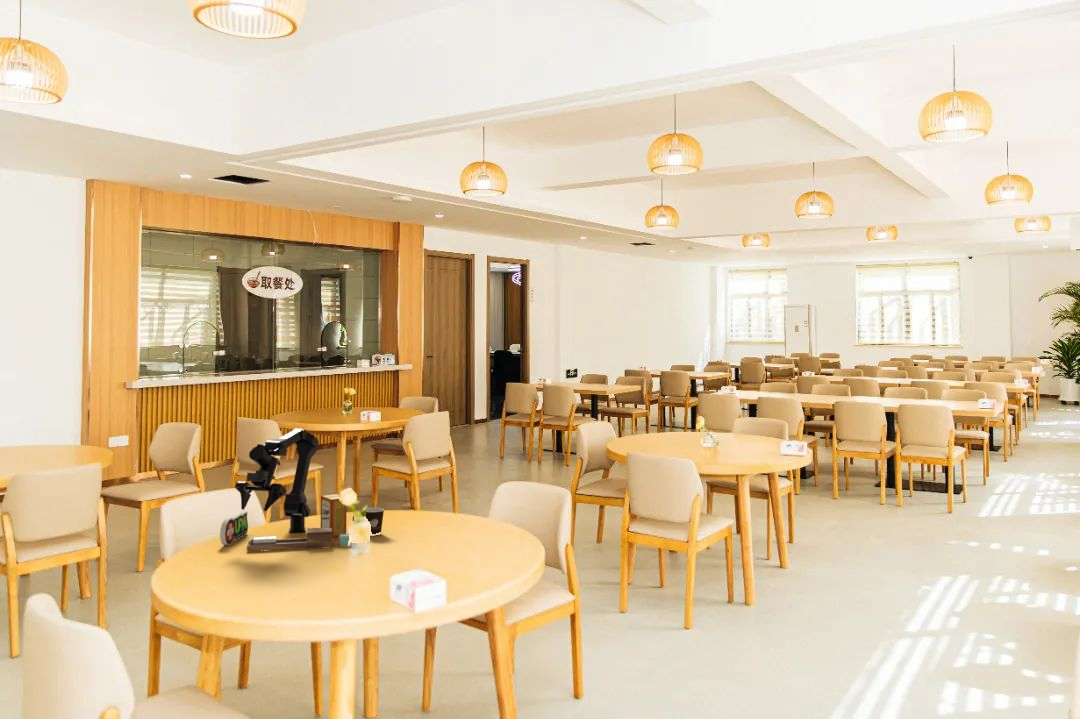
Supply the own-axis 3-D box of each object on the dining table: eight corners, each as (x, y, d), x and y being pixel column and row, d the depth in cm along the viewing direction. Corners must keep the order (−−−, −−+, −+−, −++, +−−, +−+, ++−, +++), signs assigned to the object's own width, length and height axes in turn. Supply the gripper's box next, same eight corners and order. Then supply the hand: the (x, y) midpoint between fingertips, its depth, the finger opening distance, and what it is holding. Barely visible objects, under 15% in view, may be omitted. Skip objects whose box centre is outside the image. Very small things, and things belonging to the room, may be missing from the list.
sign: (243, 533, 313) (244, 508, 313) (248, 533, 313) (248, 509, 313) (219, 548, 291) (220, 521, 291) (224, 548, 291) (224, 521, 291)
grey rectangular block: (251, 547, 291) (251, 537, 291) (276, 546, 294) (276, 535, 294) (250, 550, 287) (250, 539, 287) (275, 549, 290) (276, 538, 290)
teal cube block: (339, 544, 299) (339, 533, 299) (350, 543, 300) (350, 533, 300) (339, 546, 295) (339, 536, 295) (350, 546, 296) (350, 535, 296)
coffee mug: (386, 532, 319) (386, 508, 318) (379, 537, 310) (380, 512, 310) (358, 531, 320) (358, 507, 320) (351, 536, 311) (351, 511, 311)
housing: (248, 547, 292) (248, 531, 292) (331, 542, 301) (331, 527, 301) (246, 552, 285) (247, 535, 285) (331, 547, 294) (331, 531, 294)
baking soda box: (346, 536, 310) (346, 496, 310) (330, 539, 306) (331, 498, 306) (335, 532, 318) (336, 493, 317) (320, 534, 313) (320, 494, 313)
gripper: (234, 461, 291) (219, 500, 283) (279, 463, 287) (266, 503, 279) (248, 473, 300) (235, 511, 292) (292, 475, 296) (280, 514, 288)
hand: (253, 510), depth 288 cm, fingers open, 9 cm apart
